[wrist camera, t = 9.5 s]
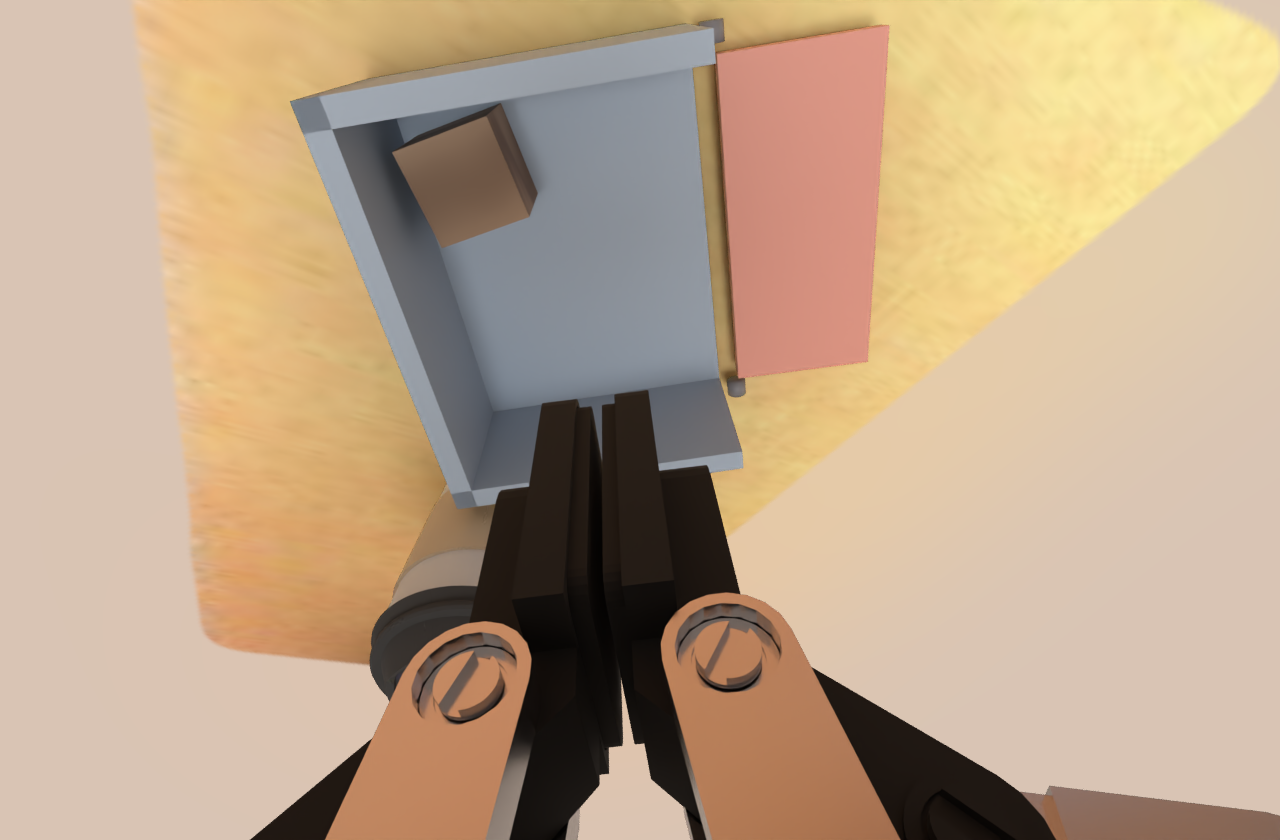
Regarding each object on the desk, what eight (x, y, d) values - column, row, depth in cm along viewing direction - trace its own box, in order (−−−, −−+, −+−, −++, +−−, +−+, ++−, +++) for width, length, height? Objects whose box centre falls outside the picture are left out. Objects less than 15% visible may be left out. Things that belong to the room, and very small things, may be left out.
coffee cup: (605, 489, 40) (606, 704, 28) (506, 555, 43) (466, 777, 31) (506, 398, 36) (454, 602, 24) (402, 477, 39) (307, 697, 27)
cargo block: (537, 193, 29) (529, 216, 26) (460, 221, 30) (441, 248, 26) (501, 102, 27) (486, 116, 24) (417, 135, 27) (392, 152, 24)
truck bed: (741, 380, 36) (772, 463, 30) (484, 419, 37) (457, 509, 30) (718, 17, 26) (757, 20, 20) (367, 78, 27) (289, 101, 20)
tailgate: (735, 366, 35) (859, 349, 35) (738, 378, 34) (867, 361, 34) (713, 52, 27) (878, 24, 26) (716, 54, 26) (889, 25, 25)
